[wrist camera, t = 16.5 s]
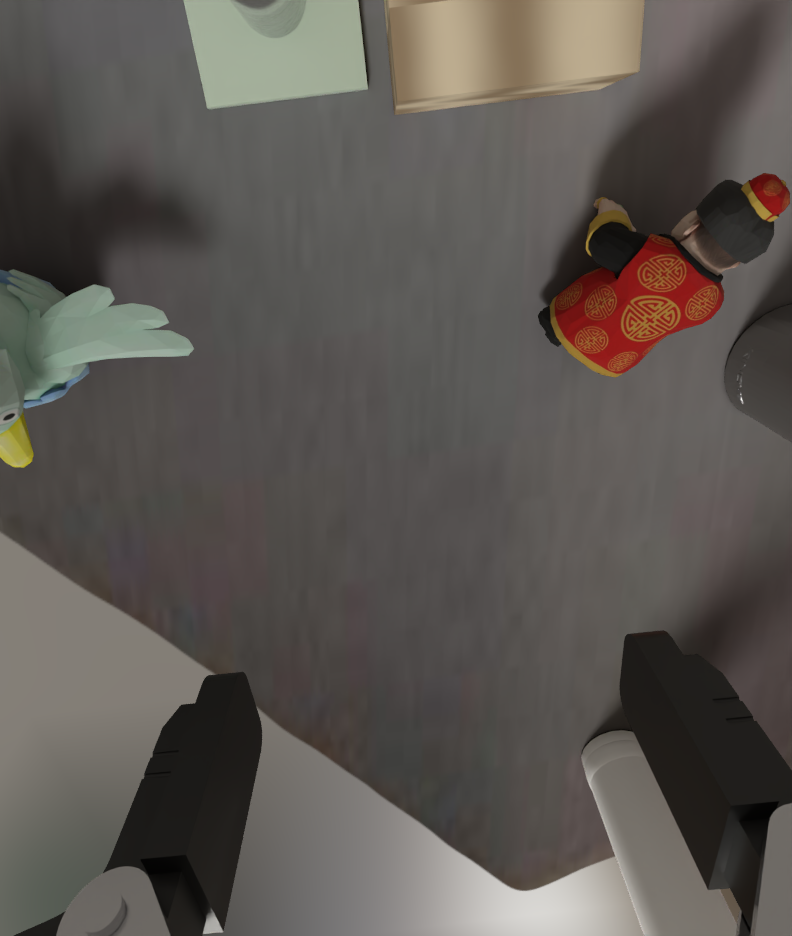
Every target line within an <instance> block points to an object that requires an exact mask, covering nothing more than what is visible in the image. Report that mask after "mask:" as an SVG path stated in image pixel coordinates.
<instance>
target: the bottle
mask: <svg viewBox="0 0 792 936" xmlns="http://www.w3.org/2000/svg"><path fill="white" fill-rule="evenodd" d="M581 759H582V764H583V767H584V769H585V774H586V778H587V781H588V783H589V786H590V788H591V790H592V792H593V795H594V797H595V800H596V803H597V806H598V809H599V811H600V814H601V817H602V820H603V823H604V825H605V828H606V831H607V834H608V837H609V839H610V842H611V845H612V848H613V851H614V853H615V856H616V859H617V862H618V864H619V867H620V870H621V873H622V876H623V879H624V881H625V884H626V887H627V890H628V893H629V895H630V898H631V901H632V904H633V906H634V909H635V912H636V915H637V918H638V920H639V923H640V926H641V929H642V932H643V934H644V936H736V929H737V923H736V921H735V919H734V917H733V915H732V913H731V911H730V909H729V907H728V905H727V903H726V901H725V899H724V897H723V895H722V893H721V891H720V889H716V890H708V889H707V887H706V885H705V883H704V881H703V878H702V876H701V874H700V872H699V870H698V868H697V866H696V864H695V861H694V859H693V857H692V855H691V853H690V851H689V849H688V847H687V845H686V842H685V840H684V838H683V836H682V834H681V832H680V830H679V828H678V825H677V823H676V821H675V819H674V817H673V815H672V813H671V811H670V808H669V806H668V804H667V802H666V800H665V798H664V796H663V794H662V792H661V789H660V787H659V785H658V783H657V781H656V779H655V777H654V775H653V772H652V770H651V768H650V766H649V764H648V762H647V760H646V758H645V756H644V753H643V751H642V749H641V747H640V745H639V743H638V741H637V739H636V736H635V734H634V732H631V731H625V730H619V731H610V732H607V733H604V734H601V735H599V736H597V737H596V738H594V739H593V740H591V741H590V742H589V743H588V744H587V746H586V747H585V748H584V750H583V753H582V756H581Z"/></svg>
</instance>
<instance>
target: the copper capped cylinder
mask: <svg viewBox="0 0 792 936" xmlns="http://www.w3.org/2000/svg"><path fill="white" fill-rule="evenodd" d="M230 1H231V3H232V4H233V5H234V7H235V8H236V9H237V10H238V12H239V13H240V14H241V16H242V17H243V18H244V19H245V21H246V22H247V23H248V25H249V26H250V27H251V28H252V29H253V30H255V31H256V32H257V33H259V34H261V35H263V36H265V37H269V38H280V37H284V36H286V35H288V34H290V33H291V32H292V31H294V30H295V29H296V27H297V26H298V25H299V23H300V22H301V20H302V17H303V15H304V11H305V6H306V0H230Z"/></svg>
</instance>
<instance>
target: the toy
mask: <svg viewBox="0 0 792 936" xmlns="http://www.w3.org/2000/svg"><path fill="white" fill-rule="evenodd" d="M114 299H115V298H114V296H113V294H112V292H111V290H110V288H106V287H103V286H99V285H95V284H94V285H92V286H89V287H87V288H84V289H82V290H80V291H77V292H75V293H73V294H71V295H69V296H68V297H66V296H65V295H64V294H63V293H62V292H60V291H58V290H57V289H55V288H54V286H53V285H52V284H51V283H49V282H47V281H44V280H41V279H39V278H36V277H34V276H31V275H28V274H26V273H23V272H20V271H17V270H14V269H12V270H10V271H9V272H7V271H3V270H0V457H1V458H2V459H3V460H4V461H5V462H6V463H7V464H9V465H11V466H13V467H25V466H26V465H28V464H29V463H31V462H32V458H33V454H34V453H33V449H32V446H31V442H30V438H29V434H28V430H27V426H26V422H25V418H24V414H23V407H24V408H30V407H33V406H37V405H40V404H44V403H48V402H51V401H54V400H56V399H58V398H61V397H62V396H64V395H65V393H67V391H68V390H69V388H70V387H71V386H72V385H73V384H75V383H76V382H78V381H79V380H81V379H82V378H84V377H85V376H86V375H87V374H88V373H89V362H91V361H97V360H103V359H112V358H129V357H170V356H188V355H189V354H190V353H191V352H192V351H193V349H194V348H193V346H192V345H191V343H190V341H189V340H188V339H187V338H185V337H183V336H181V335H179V334H177V333H175V332H173V331H170V330H149V329H153V328H159V327H161V326H163V325H165V324H167V323H169V321H168V319H167V318H166V316H165V314H164V312H163V311H161V310H159V309H156V308H154V307H152V306H147V305H140V304H134V303H130V304H122V305H114V306H110V304H111V303H112V302H113V300H114Z"/></svg>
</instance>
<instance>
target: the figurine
mask: <svg viewBox="0 0 792 936" xmlns="http://www.w3.org/2000/svg"><path fill="white" fill-rule="evenodd" d="M789 204H790V192H789V191H788V189H787V187H786V182H785V181H783V180H780V179H779V178H778V177H777V176H776V175H774V174H767V173H763V174H761V175H759V176H757V177H755V178H753V179H752V180H749V181H748V182H747V183H745V184H744V185H742V184H739V183H737V182H735V181H733V180H725V181H723V182H721V183H720V184H719V185H717V186H716V187H715V188H714V189H713V190H712V191H711V192H710V193H709V194H708V195H707V196H706V197H705V198H704V199H703V201H702V202H701V203H700V204H699V205H698V207H697V208H696V210H695V211H691V212H690V213H689V214H687V215H686V216H685V217H684V218H683V219H681V221H680V222H679V223H678V224H677V225H676V226H675V228H674V229H673V230H672V232H671V236H670V235H667V234H664V235H663V234H660V235H658V236H657V235H654V234H650V236H649V238H648V237H646V236H645V235H643V234H640V233H637V232H636V229H635V228H634V226H633V225H632V223H631V221H630V219H629V217H628V214H627V211H625V210H624V209H623V206H622V205H619V204H616V203H615V202H614V201H612V200H608V199H607V198H606V197H601V198H599V199H597V200H595V202H594V205H593V206H594V207H595V208H597V209H599V210H598V215H597V216H596V217H595V218H594V220H593V221H592V222H591V223H590V226H589V231H588V235H587V240H586V251H587V252H588V254H589V255H590V256H591V257H592V258H593V259H594V260H595V262H597V263H598V264H599V265H601V266H602V267H600V268H598V269H596V270H594V271H592V272H589V273H587V274H585V275H583V276H581V277H580V278H578V279H577V280H576V281H575V282H573V283H572V284H571V285H570V286H568V287H567V288H566V289H565V290H563V291H562V292H561V293H559V294H558V295H557V296H556V297H554V298H553V300H552V302H551V304H550V306H548V307H546V308H544V309H543V310H542V311H540V313H539V315H538V318H539V322H540V324H541V326H542V327H543V328H544V330H545V331H546V334H545V335H546V336H547V338H548V339H549V340H550V342H551V343H553V344H554V345H556V346H557V347H558V346H559V345H561V344H562V345H563V346H564V347H565V349H566V350H567V351H568V352H569V353H570V354H571V355H572V356H574V357H575V358H576V359H578V360H579V361H580V362H582V363H583V364H584V365H586V366H587V367H589V368H590V369H591V370H593V371H595V372H597V373H599V374H602V375H605V376H611V377H618V376H620V375H621V374H623V373H624V372H626V371H628V370H629V369H631V368H632V367H634V366H635V365H637V364H638V363H639V362H640V361H641V360H642V359H643V358H644V357H645V355H646V354H647V353H648V352H649V351H650V350H651V349H652V348H653V347H654V346H655V345H656V344H657V343H658V342H659V341H661V340H662V339H663V338H664V337H666V336H667V335H670V334H672V333H675V332H677V331H680V330H683V329H685V328H689V327H692V326H696V325H700V324H702V323H704V322H706V321H707V320H709V319H711V318H712V317H713V316H714V314H715V313H716V312H717V311H718V310H719V309H720V307H721V305H722V302H723V300H724V290H723V288H722V285H721V281H722V279H723V276H722V274H721V273H722V272H723V271H724V270H726V269H730V268H735V267H737V266H738V265H739V264H740V262H742V263H744V264H745V263H748V262H750V261H751V260H753V259H754V258H756V257H758V256H759V255H761V254H763V253H764V252H766V250H767V248H768V246H769V244H770V242H771V240H772V237H773V235H774V220H775V219H776V218H778V217H779V214H780V213H782V212H783V211H784V210H785V209H786V207H787V206H788V205H789Z"/></svg>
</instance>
